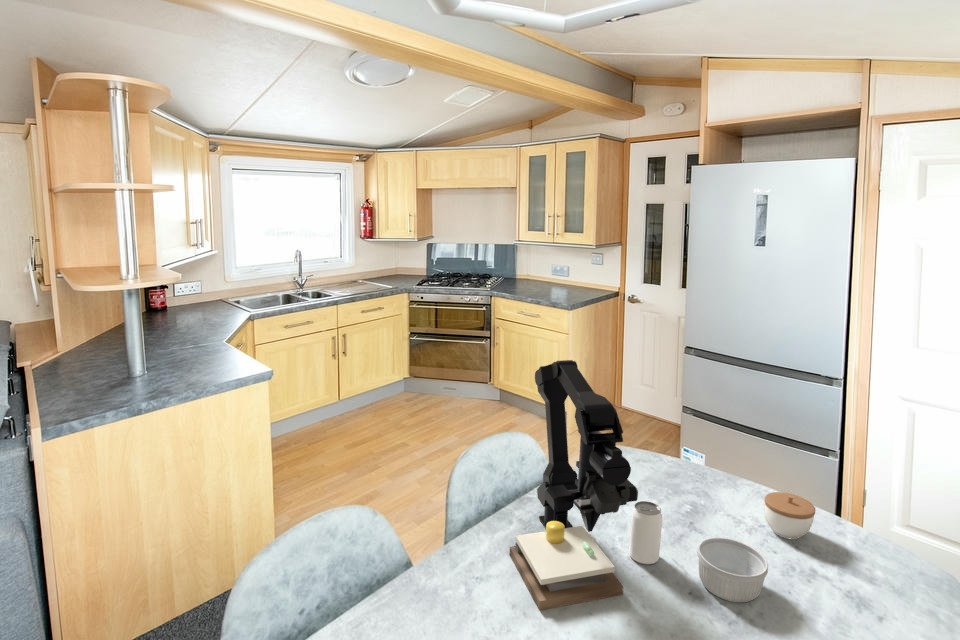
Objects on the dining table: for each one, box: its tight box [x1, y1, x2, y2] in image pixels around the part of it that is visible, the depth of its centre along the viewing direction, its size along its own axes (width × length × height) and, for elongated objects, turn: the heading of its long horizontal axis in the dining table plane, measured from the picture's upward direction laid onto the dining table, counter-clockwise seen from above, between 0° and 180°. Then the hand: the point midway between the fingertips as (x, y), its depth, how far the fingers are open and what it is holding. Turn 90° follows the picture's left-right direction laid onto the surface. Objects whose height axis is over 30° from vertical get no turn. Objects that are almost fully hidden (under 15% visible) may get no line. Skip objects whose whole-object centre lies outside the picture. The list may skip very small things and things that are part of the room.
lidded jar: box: [763, 491, 816, 540], centre depth 134 cm, size 11×11×9 cm
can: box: [628, 500, 663, 566], centre depth 124 cm, size 6×6×12 cm
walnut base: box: [508, 541, 624, 611], centre depth 118 cm, size 18×18×4 cm
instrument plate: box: [515, 521, 616, 585], centre depth 118 cm, size 15×16×4 cm
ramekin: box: [697, 537, 769, 603], centre depth 115 cm, size 13×13×7 cm
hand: (589, 530), depth 117 cm, fingers closed
